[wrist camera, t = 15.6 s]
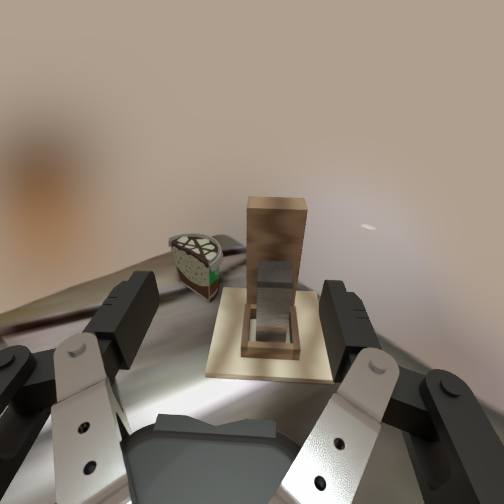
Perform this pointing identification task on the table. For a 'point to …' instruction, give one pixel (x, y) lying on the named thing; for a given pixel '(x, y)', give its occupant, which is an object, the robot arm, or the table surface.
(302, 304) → the wooden backboard stand
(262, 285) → the grey rectangular block
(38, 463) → the table surface
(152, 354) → the table surface
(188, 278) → the food container
